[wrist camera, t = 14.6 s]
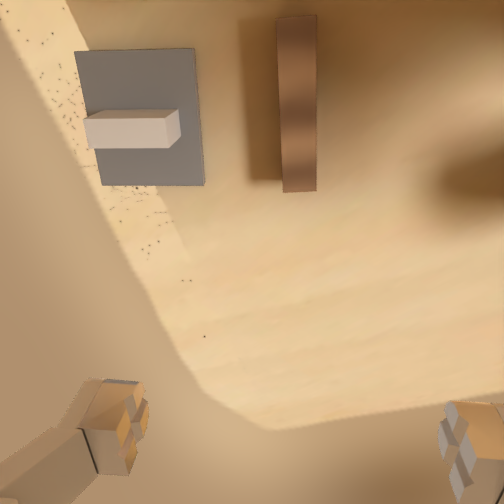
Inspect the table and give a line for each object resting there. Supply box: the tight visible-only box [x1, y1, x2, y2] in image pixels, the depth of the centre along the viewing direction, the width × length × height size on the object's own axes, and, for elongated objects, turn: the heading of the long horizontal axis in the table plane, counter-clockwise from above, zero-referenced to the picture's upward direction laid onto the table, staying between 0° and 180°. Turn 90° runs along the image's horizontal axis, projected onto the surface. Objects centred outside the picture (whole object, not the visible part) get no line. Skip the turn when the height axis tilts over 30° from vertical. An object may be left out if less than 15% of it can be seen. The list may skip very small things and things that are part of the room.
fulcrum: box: [74, 48, 205, 186], centre depth 41 cm, size 12×14×6 cm
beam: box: [276, 15, 316, 193], centre depth 40 cm, size 16×4×4 cm, turn 4°
